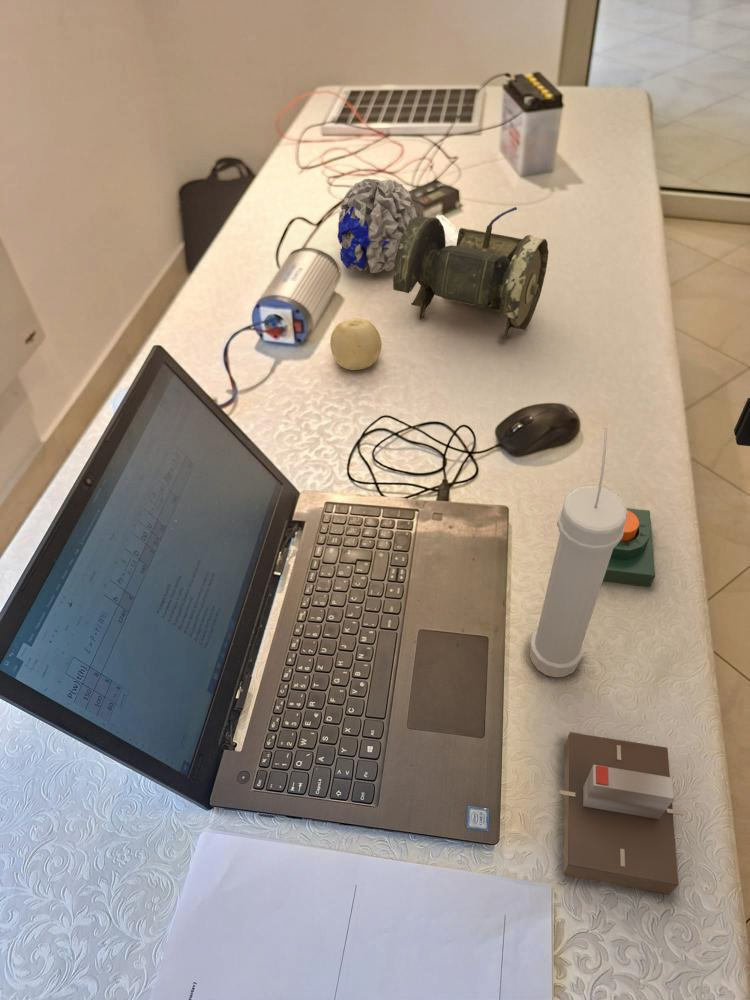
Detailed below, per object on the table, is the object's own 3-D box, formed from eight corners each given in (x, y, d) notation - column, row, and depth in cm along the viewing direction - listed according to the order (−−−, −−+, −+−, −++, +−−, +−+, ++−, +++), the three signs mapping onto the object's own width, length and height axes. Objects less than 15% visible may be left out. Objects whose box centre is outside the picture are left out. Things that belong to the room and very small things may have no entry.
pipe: (527, 677, 77) (574, 480, 54) (527, 626, 81) (570, 424, 59) (581, 682, 76) (650, 485, 54) (578, 631, 80) (641, 429, 58)
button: (636, 543, 83) (640, 534, 82) (604, 540, 84) (607, 530, 83) (635, 520, 86) (638, 510, 85) (603, 516, 86) (606, 507, 85)
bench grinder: (509, 358, 108) (550, 217, 100) (377, 317, 115) (405, 182, 106) (538, 341, 125) (575, 220, 117) (422, 307, 132) (449, 190, 124)
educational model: (339, 296, 138) (321, 248, 124) (356, 207, 143) (340, 151, 129) (411, 300, 135) (401, 250, 121) (425, 209, 140) (417, 152, 126)
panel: (679, 897, 62) (690, 887, 60) (552, 873, 64) (557, 862, 61) (668, 761, 70) (677, 748, 68) (555, 743, 72) (560, 729, 69)
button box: (650, 587, 84) (659, 566, 81) (579, 578, 85) (585, 557, 82) (645, 522, 90) (653, 500, 87) (579, 514, 91) (585, 493, 89)
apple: (346, 383, 110) (323, 338, 107) (342, 371, 118) (320, 329, 115) (392, 359, 110) (370, 313, 107) (385, 349, 117) (364, 306, 114)
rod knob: (657, 799, 65) (673, 776, 61) (659, 819, 64) (675, 797, 60) (583, 786, 66) (593, 763, 62) (583, 806, 65) (593, 784, 61)
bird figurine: (422, 251, 139) (444, 263, 131) (426, 213, 136) (448, 223, 128) (446, 250, 141) (469, 262, 133) (449, 213, 137) (473, 223, 129)
